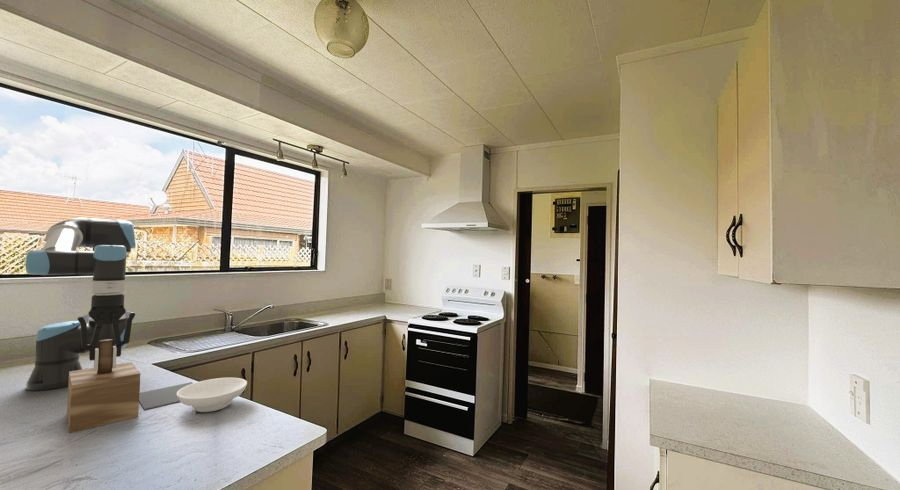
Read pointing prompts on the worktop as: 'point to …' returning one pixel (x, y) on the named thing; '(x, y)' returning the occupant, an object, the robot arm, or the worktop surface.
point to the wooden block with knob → (102, 392)
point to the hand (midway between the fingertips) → (104, 368)
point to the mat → (160, 396)
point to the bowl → (211, 393)
